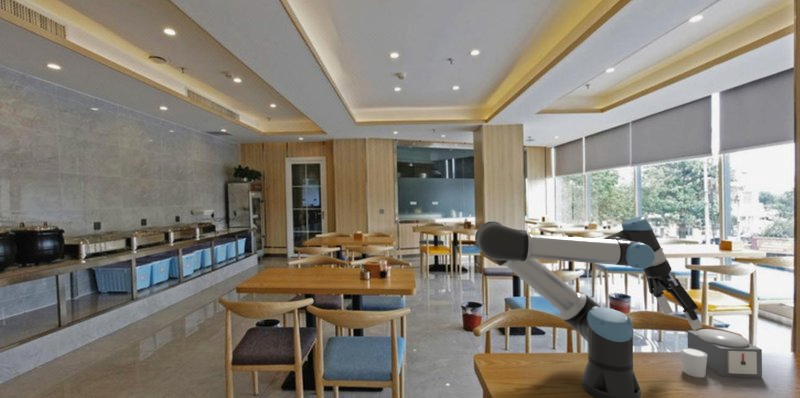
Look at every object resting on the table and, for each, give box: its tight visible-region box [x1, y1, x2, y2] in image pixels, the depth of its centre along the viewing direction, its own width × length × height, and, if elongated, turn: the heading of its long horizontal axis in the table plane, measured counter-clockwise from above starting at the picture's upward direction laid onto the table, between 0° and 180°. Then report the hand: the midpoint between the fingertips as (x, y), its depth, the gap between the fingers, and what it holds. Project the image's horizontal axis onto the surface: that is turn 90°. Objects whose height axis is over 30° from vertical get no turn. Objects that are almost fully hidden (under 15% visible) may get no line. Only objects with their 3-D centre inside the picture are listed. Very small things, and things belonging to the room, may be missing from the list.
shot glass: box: [680, 347, 707, 378], centre depth 114 cm, size 7×7×7 cm
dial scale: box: [686, 328, 763, 379], centre depth 118 cm, size 13×16×10 cm
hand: (682, 320), depth 115 cm, fingers open, 13 cm apart
